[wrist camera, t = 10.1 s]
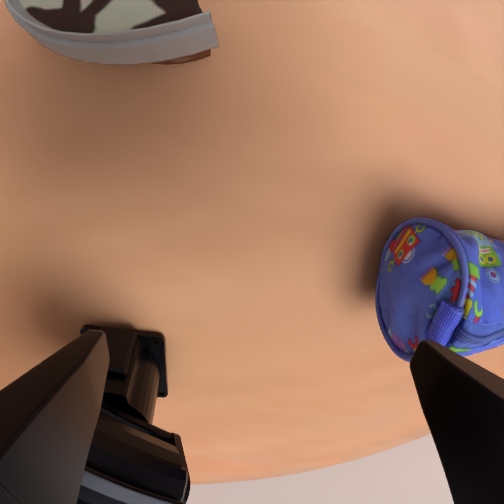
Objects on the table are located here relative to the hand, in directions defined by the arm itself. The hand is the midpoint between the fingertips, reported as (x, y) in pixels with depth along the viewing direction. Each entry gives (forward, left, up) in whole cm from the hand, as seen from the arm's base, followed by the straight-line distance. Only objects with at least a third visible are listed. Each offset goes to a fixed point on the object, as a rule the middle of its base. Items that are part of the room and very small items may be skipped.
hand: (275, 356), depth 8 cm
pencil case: (-2, -20, -12) cm, 23 cm away
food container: (+12, +8, -12) cm, 19 cm away
